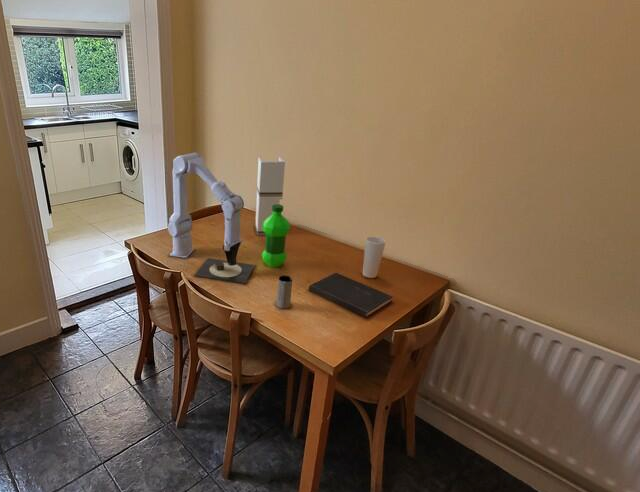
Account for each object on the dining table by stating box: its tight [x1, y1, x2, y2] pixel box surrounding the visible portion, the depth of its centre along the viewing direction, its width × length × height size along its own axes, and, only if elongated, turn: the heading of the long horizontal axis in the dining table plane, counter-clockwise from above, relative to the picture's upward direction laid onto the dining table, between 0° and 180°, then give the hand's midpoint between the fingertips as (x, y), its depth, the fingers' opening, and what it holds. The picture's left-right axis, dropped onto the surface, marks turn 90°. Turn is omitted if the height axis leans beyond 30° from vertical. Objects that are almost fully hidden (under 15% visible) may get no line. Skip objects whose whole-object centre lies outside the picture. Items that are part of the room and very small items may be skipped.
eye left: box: [215, 262, 224, 271], centre depth 163 cm, size 4×4×2 cm
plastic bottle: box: [261, 204, 291, 268], centre depth 163 cm, size 10×10×25 cm
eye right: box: [227, 257, 238, 266], centre depth 160 cm, size 4×4×2 cm
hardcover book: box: [308, 272, 394, 319], centre depth 144 cm, size 16×23×2 cm
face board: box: [194, 258, 256, 285], centre depth 163 cm, size 16×20×1 cm
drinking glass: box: [362, 236, 386, 279], centre depth 156 cm, size 7×7×15 cm
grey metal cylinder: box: [276, 275, 293, 309], centre depth 137 cm, size 4×4×10 cm
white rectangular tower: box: [254, 156, 286, 236], centre depth 194 cm, size 11×11×35 cm
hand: (231, 260), depth 160 cm, fingers closed on eye right, 3 cm apart
